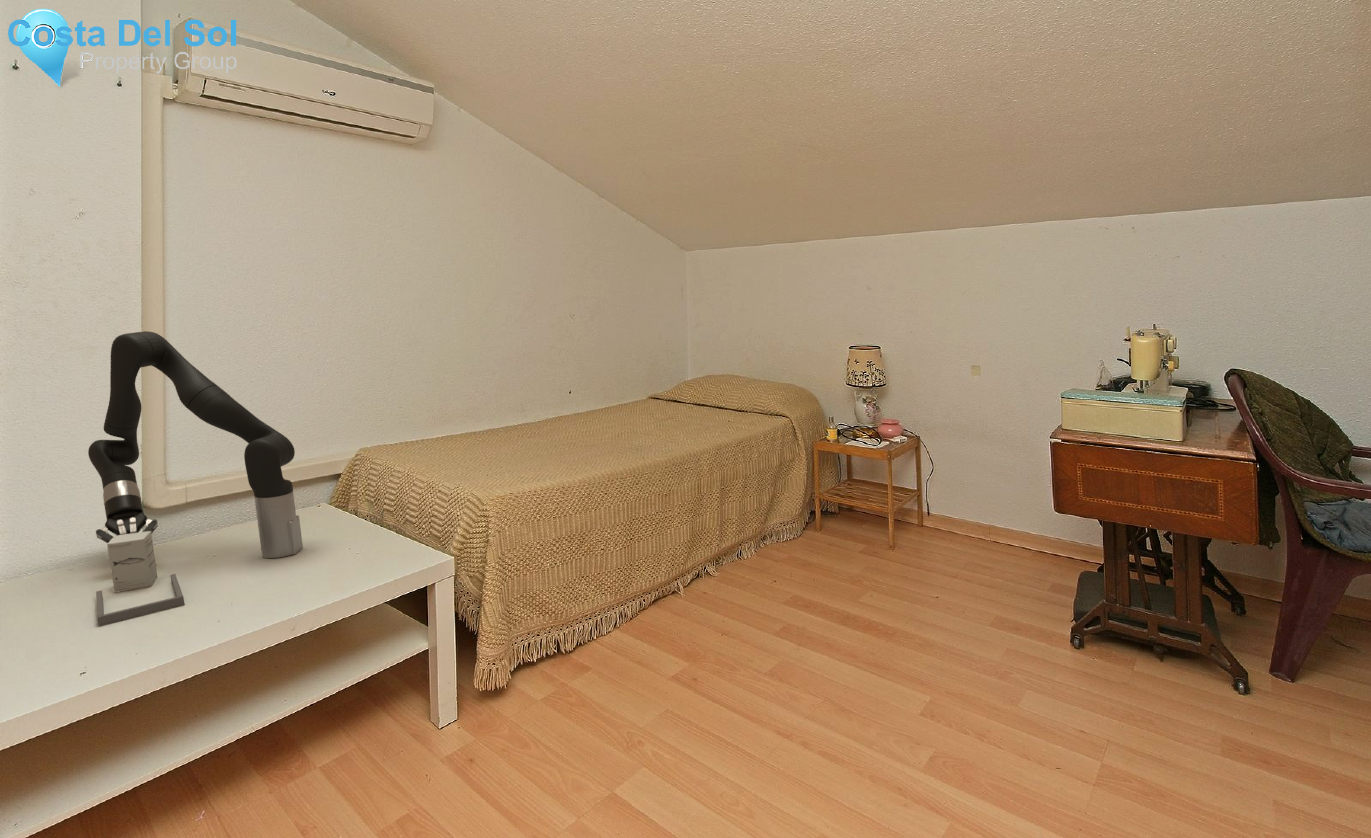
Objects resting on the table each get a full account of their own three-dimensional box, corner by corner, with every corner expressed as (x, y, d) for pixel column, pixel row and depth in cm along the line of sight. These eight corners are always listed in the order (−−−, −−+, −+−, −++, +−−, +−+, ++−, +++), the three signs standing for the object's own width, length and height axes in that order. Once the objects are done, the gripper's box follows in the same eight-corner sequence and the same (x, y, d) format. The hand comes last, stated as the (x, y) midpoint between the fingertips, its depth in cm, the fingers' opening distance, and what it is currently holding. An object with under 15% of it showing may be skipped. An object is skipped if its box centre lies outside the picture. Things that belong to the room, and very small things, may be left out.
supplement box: (113, 593, 159) (105, 543, 157) (122, 582, 166) (114, 534, 163) (152, 587, 162) (144, 538, 160) (159, 576, 169) (151, 529, 167)
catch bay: (97, 599, 156) (96, 591, 155) (176, 581, 166) (175, 573, 165) (98, 626, 142) (97, 617, 142) (184, 604, 152) (183, 596, 152)
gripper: (87, 499, 168) (96, 557, 161) (153, 489, 177) (164, 543, 170) (91, 514, 173) (99, 571, 166) (155, 503, 182) (165, 557, 175)
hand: (132, 557), depth 168 cm, fingers closed
